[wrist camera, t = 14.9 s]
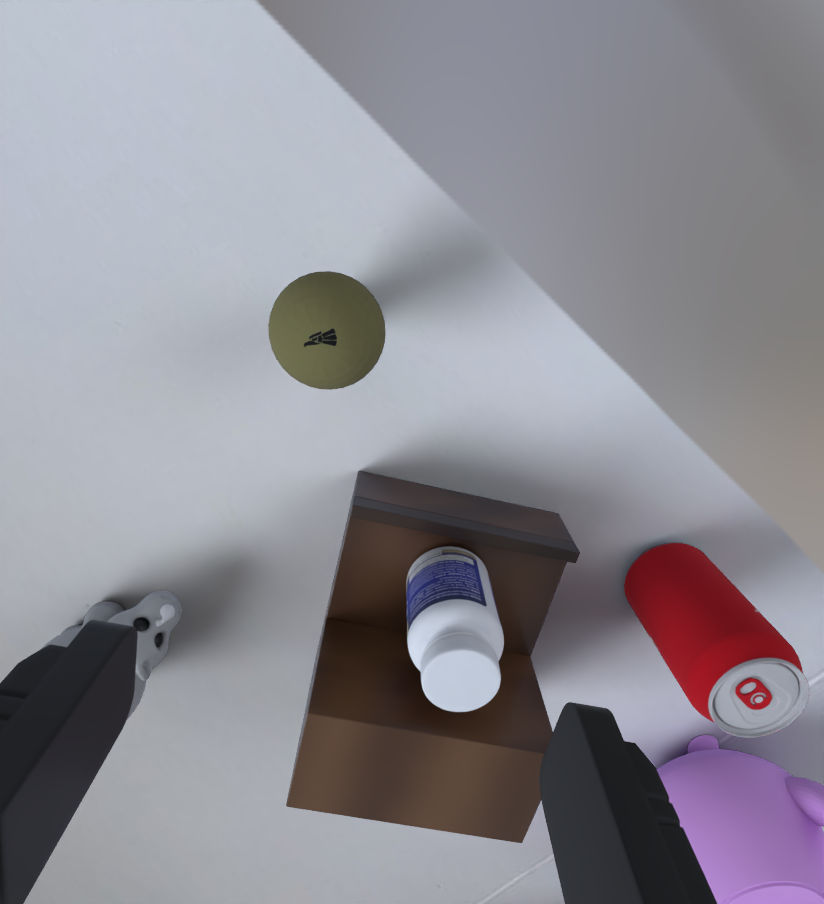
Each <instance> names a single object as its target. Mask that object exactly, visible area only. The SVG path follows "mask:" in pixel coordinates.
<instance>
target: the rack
mask: <svg viewBox="0 0 824 904" xmlns="http://www.w3.org/2000/svg"><path fill="white" fill-rule="evenodd" d="M446 546H453V547H459V548H463V549H466V550H468V551H470V552H472V553H473V554H475V555H476V556H477V557H478V558H479V559H480V560H481V561H482V562H483V564H484V565H485V567H486V569H487V572H488V575H489V578H490V582H491V587H492V591H493V595H494V599H495V603H496V607H497V611H498V614H499V618H500V622H501V625H502V630H503V635H504V647H503V652H502V655H501V657H500V660H499V661H498V662H499V668H500V674H501V682H500V687H499V689H498V692H497V693H496V695H495V696H494V697H493V698H492V700H491V701H489V702H488V703H487V704H486V705H484V706H482V707H480V708H478V709H475V710H471V711H467V712H453V711H447V710H444V709H441V708H439V707H437V706H436V705H434V704H433V703H432V702H431V701H429V699H428V698H427V697H426V695H425V693H424V691H423V689H422V684H421V672H420V671H419V670H418V669H417V667H416V666H415V664H414V663H413V661H412V659H411V657H410V654H409V650H408V644H407V596H406V580H407V575H408V572H409V570H410V568H411V566H412V565H413V563H414V562H415V561H416V560H417V559H418V558H419V557H420V556H421V555H423V554H424V553H426V552H428V551H430V550H432V549H435V548H439V547H446ZM579 553H580V552H579V550H578V548H577V547H576V545H575V543H574V541H573V540H572V538H571V536H570V534H569V532H568V530H567V529H566V527H565V525H564V523H563V521H562V520H561V518H560V516H559V514H557V513H553V512H548V511H543V510H539V509H534V508H529V507H525V506H520V505H516V504H511V503H506V502H502V501H497V500H492V499H488V498H483V497H478V496H474V495H469V494H464V493H460V492H455V491H451V490H446V489H441V488H437V487H432V486H427V485H423V484H418V483H413V482H409V481H404V480H399V479H395V478H390V477H386V476H381V475H376V474H372V473H367V472H362V471H358V474H357V479H356V483H355V488H354V492H353V496H352V501H351V505H350V510H349V514H348V518H347V523H346V527H345V532H344V536H343V540H342V545H341V549H340V554H339V558H338V562H337V567H336V571H335V576H334V580H333V585H332V589H331V593H330V598H329V602H328V607H327V611H326V615H325V620H324V624H323V629H322V633H321V637H320V642H319V646H318V651H317V655H316V659H315V664H314V669H313V674H312V679H311V684H310V689H309V694H308V699H307V704H306V709H305V714H304V719H303V724H302V729H301V734H300V739H299V744H298V749H297V754H296V759H295V764H294V769H293V774H292V779H291V784H290V789H289V794H288V799H287V804H286V806H287V807H293V808H299V809H306V810H312V811H319V812H325V813H332V814H338V815H344V816H351V817H357V818H364V819H370V820H376V821H383V822H389V823H396V824H402V825H409V826H415V827H421V828H428V829H434V830H441V831H447V832H454V833H460V834H466V835H473V836H479V837H486V838H492V839H499V840H505V841H511V842H518V843H522V842H523V840H524V837H525V835H526V833H527V831H528V828H529V826H530V824H531V822H532V819H533V817H534V815H535V813H536V810H537V808H538V806H539V803H540V801H541V795H540V786H539V777H540V767H541V763H542V759H543V756H544V754H545V751H546V749H547V746H548V744H549V742H550V739H551V737H552V734H553V731H552V728H551V725H550V721H549V718H548V715H547V711H546V708H545V705H544V701H543V698H542V695H541V691H540V688H539V685H538V681H537V678H536V675H535V671H534V668H533V665H532V661H531V658H530V656H531V653H532V651H533V648H534V645H535V643H536V640H537V638H538V635H539V632H540V630H541V627H542V625H543V622H544V620H545V617H546V614H547V612H548V609H549V607H550V604H551V601H552V599H553V596H554V594H555V591H556V588H557V586H558V583H559V581H560V578H561V576H562V573H563V570H564V568H565V565H566V563H567V562H572V563H576V561H577V558H578V556H579Z"/></svg>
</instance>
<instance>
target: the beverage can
mask: <svg viewBox="0 0 824 904" xmlns="http://www.w3.org/2000/svg"><path fill="white" fill-rule="evenodd" d="M624 590H625V595H626V598H627V600H628V602H629V604H630V606H631V607H632V609H633V610H634V612H635V614H636V615H637V617H638V619H639V620H640V622H641V623H642V625H643V627H644V628H645V630H646V631H647V633H648V635H649V636H650V638H651V640H652V641H653V643H654V644H655V646H656V648H657V649H658V651H659V652H660V654H661V656H662V657H663V659H664V660H665V662H666V664H667V665H668V667H669V669H670V670H671V672H672V673H673V675H674V677H675V678H676V680H677V681H678V683H679V685H680V686H681V688H682V690H683V691H684V693H685V694H686V696H687V698H688V699H689V701H690V702H691V704H692V705H693V707H694V708H695V709H696V710H697V711H698V712H699V713H700V714H702V715H703V716H704V717H706V718H707V719H709V720H711V721H712V722H714V723H715V724H716V725H717V726H718V727H719V728H720V729H722V730H723V731H724V732H726V733H728V734H730V735H733V736H737V737H742V738H755V737H762V736H766V735H769V734H772V733H775V732H777V731H779V730H781V729H783V728H785V727H786V726H788V725H789V724H790V723H792V722H793V721H794V720H795V719H796V718H797V717H798V716H799V715H800V714H801V712H802V711H803V709H804V707H805V706H806V703H807V701H808V697H809V685H808V682H807V679H806V677H805V676H804V674H803V671H802V667H801V663H800V660H799V658H798V656H797V654H796V652H795V650H794V649H793V647H792V646H791V645H790V644H789V643H788V642H787V641H786V640H785V639H784V638H783V637H782V635H781V634H780V633H779V632H778V631H777V630H776V629H775V628H774V627H773V626H772V625H771V624H770V623H769V622H768V621H767V620H766V619H765V618H764V616H763V615H762V614H761V613H760V612H759V611H758V610H757V609H756V608H755V607H754V606H753V605H752V604H751V603H750V602H749V601H748V600H747V599H746V598H745V596H744V595H743V594H742V593H741V592H740V591H739V590H738V589H737V588H736V587H735V586H734V585H733V584H732V583H731V582H730V581H729V580H728V579H727V577H726V576H725V575H724V574H723V573H722V572H721V571H720V570H719V569H718V568H717V567H716V566H715V565H714V564H713V563H712V562H711V561H710V560H709V558H708V557H707V556H706V555H705V554H704V553H703V552H702V551H700V550H699V549H697V548H695V547H693V546H691V545H687V544H683V543H668V544H663V545H659V546H656V547H654V548H652V549H650V550H648V551H646V552H645V553H643V554H642V555H641V556H640V557H638V558H637V559H636V560H635V562H634V563H633V564H632V565H631V567H630V569H629V570H628V573H627V575H626V578H625V584H624Z"/></svg>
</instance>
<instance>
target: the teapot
mask: <svg viewBox="0 0 824 904" xmlns="http://www.w3.org/2000/svg"><path fill="white" fill-rule="evenodd" d="M688 752H689V754H686V755H683V756H680V757H678V758H676V759H673V760H671V761H669V762H668V763H666V764H664V765H663V766H661V767H660V768H658V769H657V771H658V774H659V776H660V778H661V780H662V782H663V785H664V787H665V789H666V791H667V793H668V796H669V802H670V803H672V804H673V807H674V809H675V811H676V813H677V815H678V818H679V820H680V827H683V829H684V831H685V833H686V835H687V838H688V840H689V842H690V844H691V846H692V849H693V851H694V853H695V855H696V857H697V860H698V862H699V864H700V866H701V868H702V871H703V873H704V875H705V877H706V879H707V882H708V884H709V886H710V888H711V890H712V893H713V895H714V897H715V899H716V902H717V904H824V833H823V830H822V827H821V826H824V786H823V785H821V784H820V783H817V782H814V781H811V780H809V779H805V778H798V777H792V776H791V775H790V774H789V773H787V772H786V771H785V770H783V769H782V768H781V767H779V766H778V765H776V764H774V763H772V762H770V761H767V760H765V759H762V758H760V757H757V756H754V755H751V754H747V753H743V752H738V751H734V750H727V749H719V744H718V741H717V739H716V738H715V737H713V736H710V735H702V736H698V737H696V738H694V739H693V740H692V741H691V742H690V743H689V745H688Z"/></svg>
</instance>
